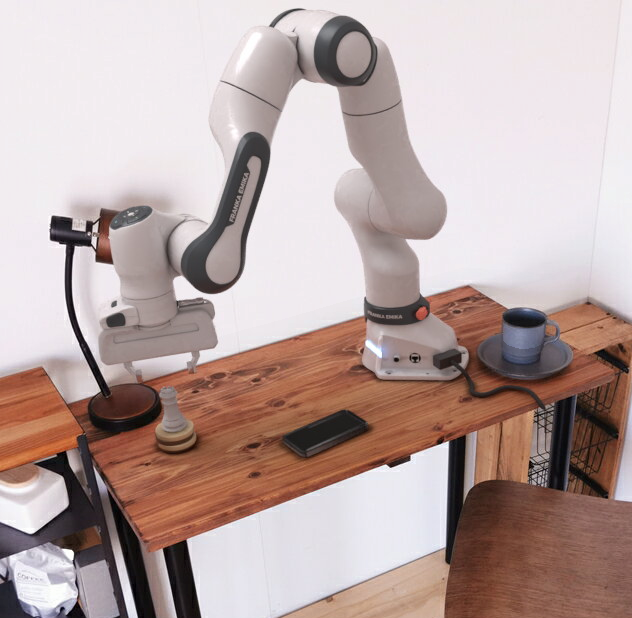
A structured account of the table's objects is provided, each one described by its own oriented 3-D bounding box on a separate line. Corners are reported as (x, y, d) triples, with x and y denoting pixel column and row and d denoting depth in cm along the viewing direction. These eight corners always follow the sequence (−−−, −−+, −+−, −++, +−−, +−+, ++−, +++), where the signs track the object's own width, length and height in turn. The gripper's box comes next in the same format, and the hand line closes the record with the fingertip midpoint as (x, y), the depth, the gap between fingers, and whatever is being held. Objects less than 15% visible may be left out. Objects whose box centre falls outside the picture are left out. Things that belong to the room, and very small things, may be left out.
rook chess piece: (181, 434, 164) (174, 396, 160) (158, 432, 165) (150, 394, 161) (190, 421, 168) (183, 383, 164) (168, 420, 169) (160, 382, 165)
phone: (370, 423, 169) (303, 453, 161) (370, 429, 169) (303, 458, 162) (345, 407, 174) (279, 435, 167) (345, 412, 175) (280, 440, 167)
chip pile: (204, 435, 170) (202, 419, 169) (186, 457, 165) (183, 440, 163) (169, 430, 173) (165, 414, 171) (149, 452, 167) (145, 435, 165)
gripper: (210, 288, 158) (222, 359, 165) (90, 306, 155) (108, 377, 162) (213, 303, 152) (226, 375, 160) (89, 322, 149) (108, 394, 157)
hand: (166, 376), depth 161 cm, fingers open, 8 cm apart
